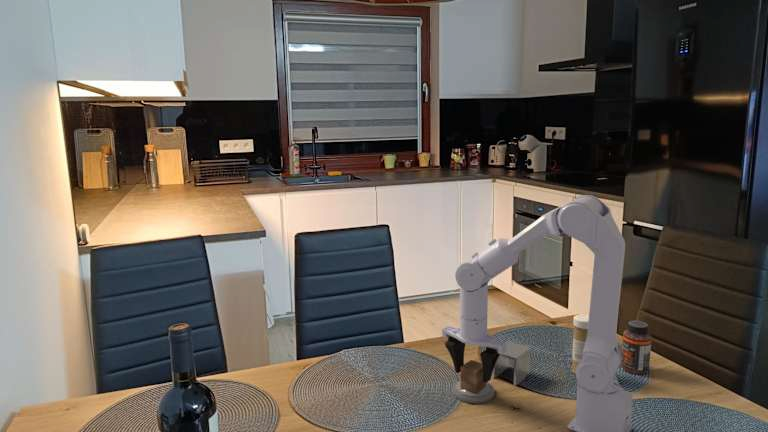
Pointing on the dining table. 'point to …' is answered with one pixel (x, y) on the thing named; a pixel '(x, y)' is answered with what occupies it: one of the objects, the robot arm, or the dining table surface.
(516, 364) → the cover
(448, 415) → the dining table surface
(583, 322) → the sprinkles bottle
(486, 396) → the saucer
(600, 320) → the robot arm
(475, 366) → the block
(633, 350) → the supplement bottle
